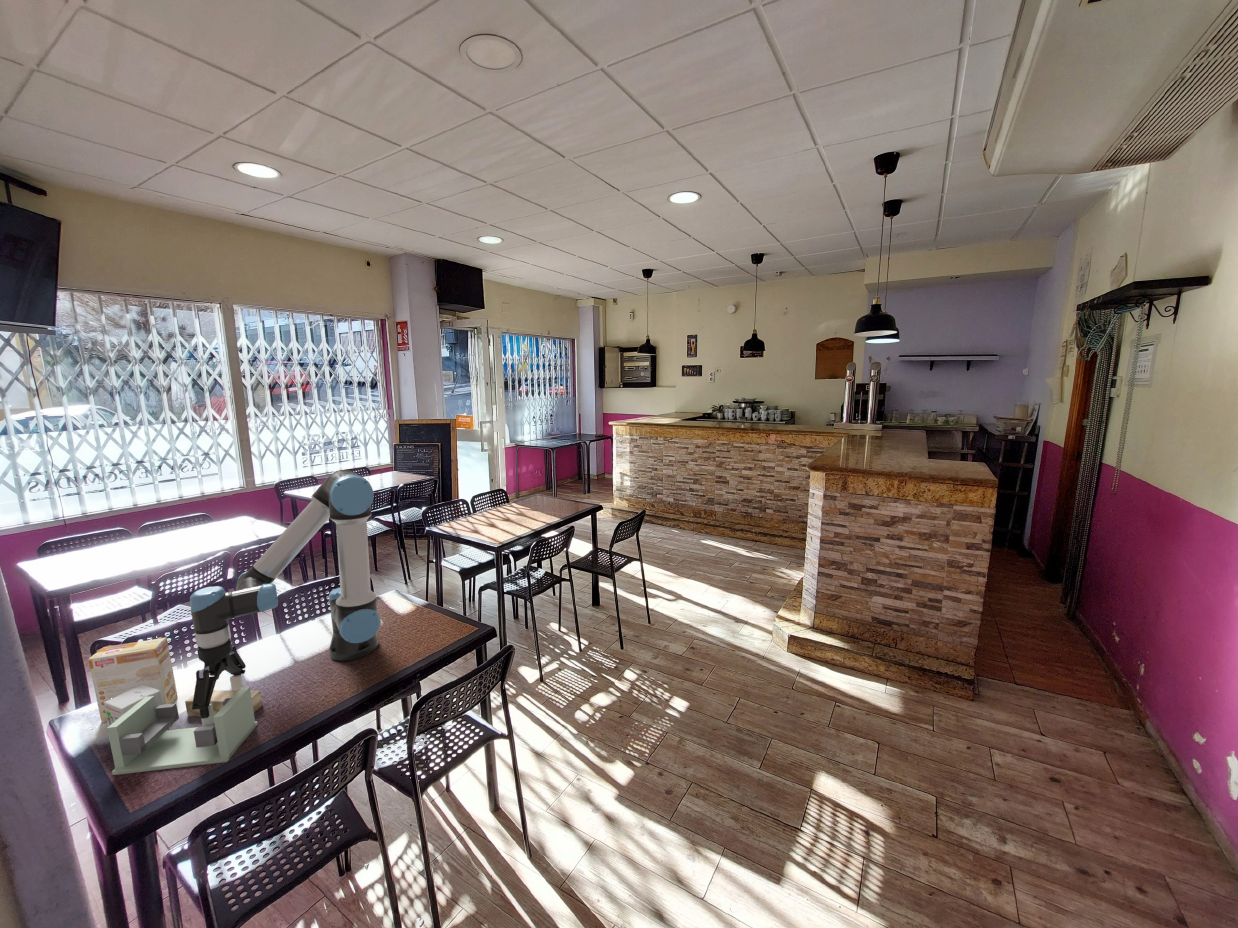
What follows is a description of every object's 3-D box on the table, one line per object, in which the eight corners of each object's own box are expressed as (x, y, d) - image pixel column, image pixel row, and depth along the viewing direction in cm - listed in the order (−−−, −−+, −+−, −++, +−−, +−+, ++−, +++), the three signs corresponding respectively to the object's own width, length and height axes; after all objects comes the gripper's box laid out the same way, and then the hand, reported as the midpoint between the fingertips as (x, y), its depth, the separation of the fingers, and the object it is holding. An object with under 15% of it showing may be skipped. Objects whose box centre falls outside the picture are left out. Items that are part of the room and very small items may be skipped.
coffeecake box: (178, 696, 151) (167, 636, 148) (167, 710, 144) (155, 648, 141) (115, 707, 146) (102, 646, 143) (100, 723, 139) (86, 659, 136)
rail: (262, 705, 146) (260, 690, 146) (249, 717, 141) (247, 701, 141) (202, 705, 147) (199, 690, 146) (187, 716, 142) (184, 701, 141)
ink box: (110, 741, 132) (102, 701, 130) (149, 720, 140) (142, 682, 138) (129, 749, 129) (121, 708, 127) (168, 727, 137) (161, 689, 135)
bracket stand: (257, 723, 138) (251, 684, 136) (226, 761, 125) (219, 718, 123) (156, 734, 134) (148, 694, 132) (112, 774, 121) (103, 730, 119)
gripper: (226, 622, 152) (235, 685, 156) (166, 668, 128) (179, 742, 131) (253, 620, 153) (262, 683, 157) (199, 665, 129) (211, 739, 132)
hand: (224, 710), depth 144 cm, fingers open, 13 cm apart
